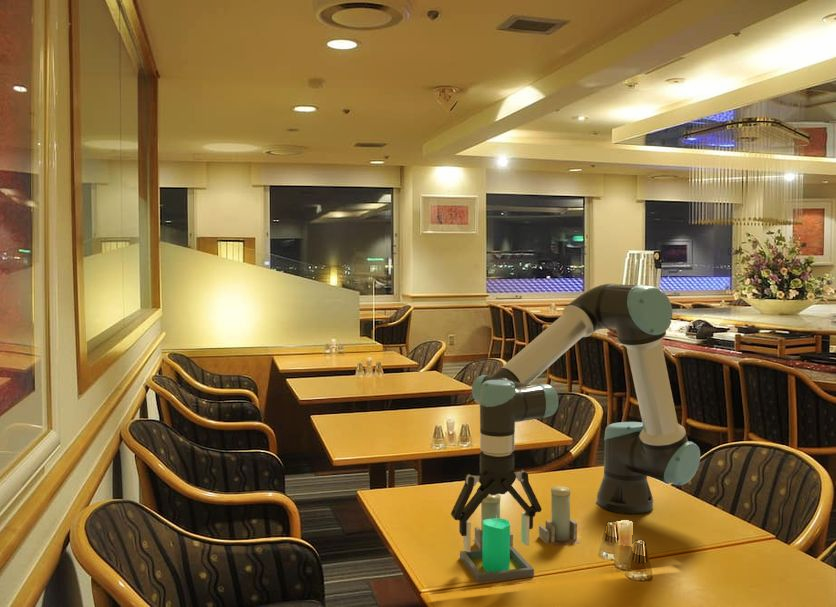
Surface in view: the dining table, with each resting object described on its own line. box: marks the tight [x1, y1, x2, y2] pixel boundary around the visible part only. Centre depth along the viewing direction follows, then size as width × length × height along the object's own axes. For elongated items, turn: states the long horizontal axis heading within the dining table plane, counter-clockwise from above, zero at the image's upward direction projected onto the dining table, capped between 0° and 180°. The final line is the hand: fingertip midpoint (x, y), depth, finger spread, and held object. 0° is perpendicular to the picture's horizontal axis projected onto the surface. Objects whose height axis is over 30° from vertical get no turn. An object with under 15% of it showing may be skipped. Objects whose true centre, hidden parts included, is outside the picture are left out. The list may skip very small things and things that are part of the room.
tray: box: [459, 545, 535, 588], centre depth 159 cm, size 13×13×3 cm
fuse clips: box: [472, 517, 581, 549], centre depth 171 cm, size 25×12×5 cm, turn 104°
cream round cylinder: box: [550, 485, 571, 541], centre depth 175 cm, size 5×5×12 cm
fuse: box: [480, 494, 501, 532], centre depth 170 cm, size 5×5×12 cm
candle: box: [481, 515, 511, 572], centre depth 159 cm, size 6×6×12 cm
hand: (496, 546), depth 159 cm, fingers open, 13 cm apart
